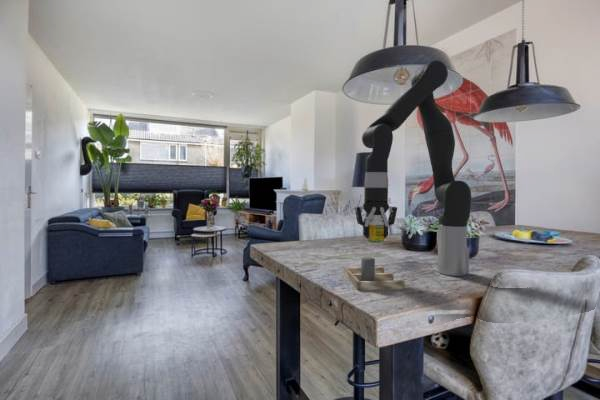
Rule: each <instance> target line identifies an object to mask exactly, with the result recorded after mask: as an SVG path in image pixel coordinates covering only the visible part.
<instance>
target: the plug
mask: <svg viewBox="0 0 600 400" xmlns="http://www.w3.org/2000/svg"><path fill="white" fill-rule="evenodd" d="M360 261H361V262H360V264H361V265H360V267H361V281H375V267H376V263H375V262H376V258H374V257H367V256H366V257H364V256H363V257H361V259H360Z"/></svg>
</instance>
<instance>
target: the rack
mask: <svg viewBox="0 0 600 400" xmlns="http://www.w3.org/2000/svg"><path fill="white" fill-rule="evenodd" d="M394 275H395V274H394V273H393V272H387V273H386V272H385V267H384V266H375V281H361V266H356V267H355V266H353V267H352V266H349V267H347V266H345V267H343V276H345V278H346V279H347V280H348V281H349V283H351V285H352V286H353V287H354V288H355V290H357V291H372V290H373V291H375V290H376V291H377V290H379V291H381V290H385V291H386V290H405V280H399V279H398V280H394Z"/></svg>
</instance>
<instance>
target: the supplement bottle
mask: <svg viewBox="0 0 600 400" xmlns="http://www.w3.org/2000/svg"><path fill="white" fill-rule="evenodd" d="M381 219H382V215H373V217H372V219H371V221H370V222H369V225H368V227H369V238H366V242H367V244H368V245H374V246H377V245H378V246H379V245H380V246H381V245H383V244H384V240H385V238H384V222H383V221H381Z"/></svg>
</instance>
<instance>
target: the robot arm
mask: <svg viewBox="0 0 600 400" xmlns="http://www.w3.org/2000/svg"><path fill="white" fill-rule="evenodd" d="M448 74H449V72H448V68H447V66H446V64H445V63H444V62H443V61H441V60H432V61H429V62H428V63H425V64H424V65H423V66H421V67H420V68H418V69H417V70H415V71H414V72H413V73H412V75H411V77H410V84H411V85H410V86H411V87H410V88H409V89H408V90H407V91H405V92H404V93H403V94H402V95H400V97H398V98H397V99H396V100H395V101H394V102H393V103H391V105H390V106H389V107H388V108H387V109H386V110H385V111H384V112H383V114H382V115H381V116H379V118H377V119H376V120H375V121H374V122H372V123H371V124H370V125H369V126H368V127H367V128H365V130H364V132H363V133H362V136H361V141H362V143H363V144H362V145H364V147H366V148H368V149H371V153H370V154H369V155H368V156H366V159H365V174H364V175H365V177H364V196H363V197H364V198H363V199H364V200H363V201H364V202H363V205H362V206H361V205H360V206H355V207H354V211H355V218H356V222H357V224H358V225H360V226H362V235H363V237H364V238H365V239H367V238H369V227H368V225H369V222H370V221H371V219H372V217H373V215H382V219H381V221H383V222H384V239H387V237H388V236H389V226H393V225H394V224H395V220H396V216H397V211H398V207H397V206H390V205H389V203H388V202H389V200H388V199H389V177H388V174H389V173H388V172H389V171H388V169H389V168H388V167H389V166H388V160H389V157H390V154H391V149H392V145H393V141H394V140H393V139H394V134H393V132H394V131H396V130H398V129H400V127H401V126H402V125H403V123H405V121H406V120H407V119H408V118H409V117H410V116H411V114H412V113H413V112H414V111H415V110H416V109H418V111H419V115H420V119H421V123H422V127H423V133H424V138H425V144H426V147H427V151H428V157H429V161H430V165H431V171H432V177H433V178H432V179H433V188H434V189H433V190H434V195H435V199H436V200H437V202H438V203H439V204H441V205H442V206H444V208H443V212H442V214H441V215H440V216H439V217H438V221H437V223H438V224H437V225H438V226H437V230H438V231H437V273H439V274H442V275H446V276H451V277H452V276H454V277H461V276H462V277H463V276H466V275H469V274H470V248H469V247H468V242H467V241H468V222H469V219H470V216H471V206H472V192H471V191H472V190H471V187H470V186H469V184H468V183H467V182H465V181H463V180H456V179H455V175H454V171H453V158H454V154H455V148H456V140H455V134H454V130H453V124H452V123H451V121H450V120H449V118H448V117H447V116H446V115H445V114H444V113H443V112H442V111H441V109H440V108H439V107H438V106H437V103H436V100H435V96H434V91H436V90H438V89H439V88H441V86H443V84H445V82H446V81H447V79H448V76H449V75H448ZM363 211H365V213H366V214H365V216H364V220H363V216H362V215H363V214H362V213H363ZM387 211H388V213H389V215H388V217H387V214H386V213H387Z"/></svg>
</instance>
